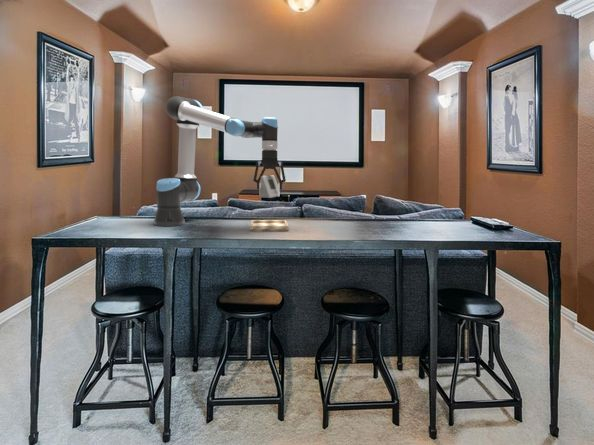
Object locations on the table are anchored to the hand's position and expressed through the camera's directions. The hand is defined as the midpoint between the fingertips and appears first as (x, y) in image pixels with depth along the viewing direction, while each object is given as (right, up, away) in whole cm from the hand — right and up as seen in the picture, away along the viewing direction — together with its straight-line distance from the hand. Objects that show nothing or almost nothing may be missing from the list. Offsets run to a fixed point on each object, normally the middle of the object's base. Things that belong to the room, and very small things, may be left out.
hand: (269, 196), depth 215 cm
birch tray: (0, -16, +2) cm, 16 cm away
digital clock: (+1, -1, 0) cm, 1 cm away
